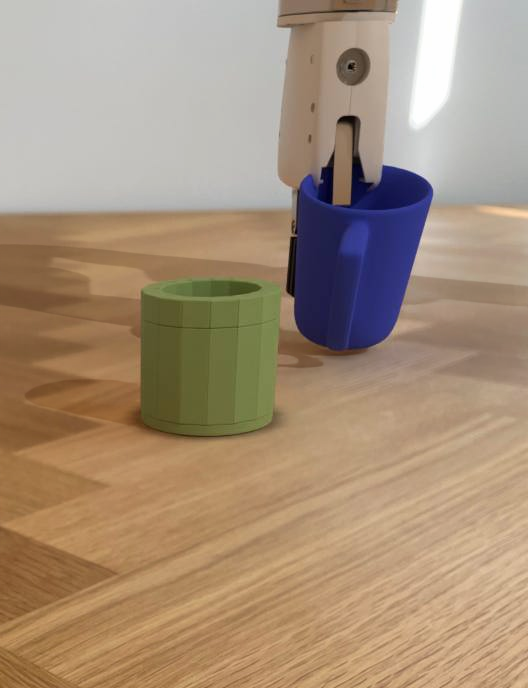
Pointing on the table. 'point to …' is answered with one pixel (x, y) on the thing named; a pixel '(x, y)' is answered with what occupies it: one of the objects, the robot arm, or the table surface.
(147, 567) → the table surface
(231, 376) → the green open cylindrical container
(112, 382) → the table surface
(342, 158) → the robot arm
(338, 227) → the mug
